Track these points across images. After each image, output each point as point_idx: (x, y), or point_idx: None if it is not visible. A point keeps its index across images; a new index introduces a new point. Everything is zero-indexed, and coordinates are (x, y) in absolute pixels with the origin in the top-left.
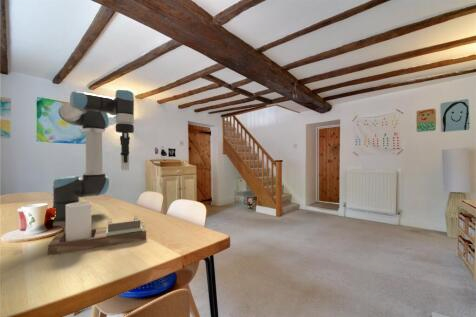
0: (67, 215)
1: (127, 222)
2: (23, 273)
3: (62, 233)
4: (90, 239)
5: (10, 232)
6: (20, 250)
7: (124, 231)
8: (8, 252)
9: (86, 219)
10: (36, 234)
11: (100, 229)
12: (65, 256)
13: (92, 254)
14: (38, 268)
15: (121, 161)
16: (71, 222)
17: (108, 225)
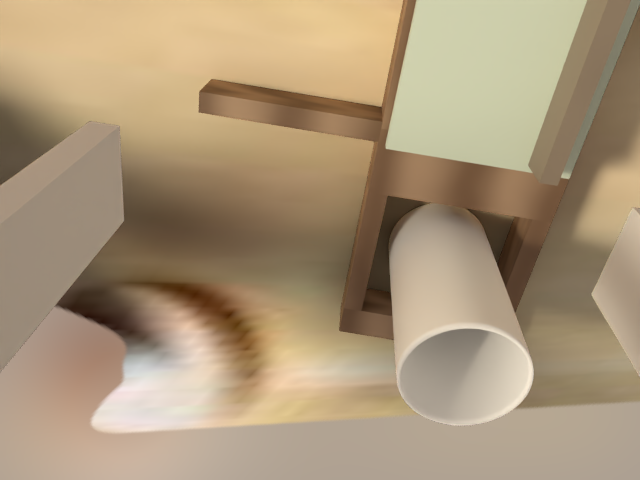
0: (481, 381)
1: (599, 76)
2: (600, 375)
3: (359, 316)
4: (545, 233)
5: (98, 422)
6: (362, 389)
7: (605, 88)
8: (359, 411)
9: (506, 294)
10: (178, 361)
11: (410, 180)
12: (551, 289)
13: (617, 213)
14: (595, 348)
15: (58, 294)
16: (494, 344)
17: (557, 179)
